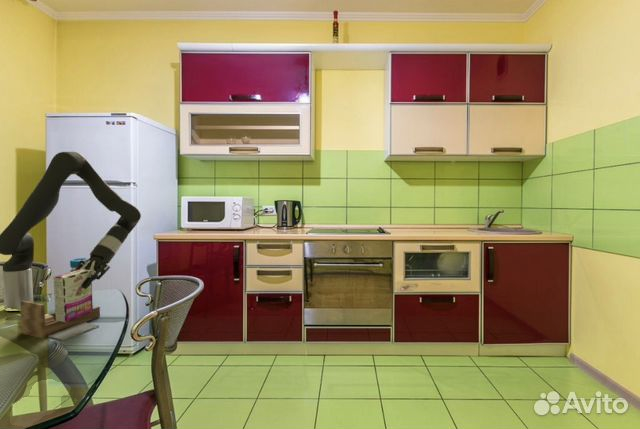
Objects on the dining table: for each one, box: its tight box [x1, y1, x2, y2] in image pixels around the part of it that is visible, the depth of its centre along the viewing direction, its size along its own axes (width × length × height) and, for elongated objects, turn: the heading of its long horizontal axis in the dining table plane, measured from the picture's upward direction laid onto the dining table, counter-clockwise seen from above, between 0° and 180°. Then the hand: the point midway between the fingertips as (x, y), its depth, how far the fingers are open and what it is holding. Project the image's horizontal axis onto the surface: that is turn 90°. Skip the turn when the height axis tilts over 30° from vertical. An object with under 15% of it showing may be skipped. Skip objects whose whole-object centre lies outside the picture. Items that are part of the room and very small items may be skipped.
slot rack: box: [20, 300, 101, 340], centre depth 132 cm, size 11×22×12 cm, turn 161°
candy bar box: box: [53, 269, 94, 323], centre depth 125 cm, size 11×5×16 cm, turn 167°
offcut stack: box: [45, 313, 55, 325], centre depth 125 cm, size 6×5×5 cm
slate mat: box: [47, 322, 100, 342], centre depth 126 cm, size 8×13×1 cm, turn 161°
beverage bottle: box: [69, 257, 89, 272], centre depth 155 cm, size 8×8×20 cm
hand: (78, 286), depth 126 cm, fingers closed on candy bar box, 5 cm apart
